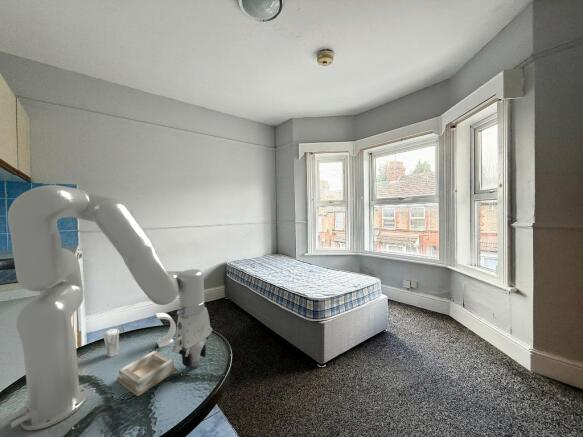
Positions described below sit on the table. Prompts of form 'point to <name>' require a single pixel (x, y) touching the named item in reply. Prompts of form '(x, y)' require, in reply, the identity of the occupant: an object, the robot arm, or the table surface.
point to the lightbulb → (196, 353)
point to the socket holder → (146, 372)
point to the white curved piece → (168, 337)
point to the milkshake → (112, 342)
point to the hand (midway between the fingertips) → (194, 359)
